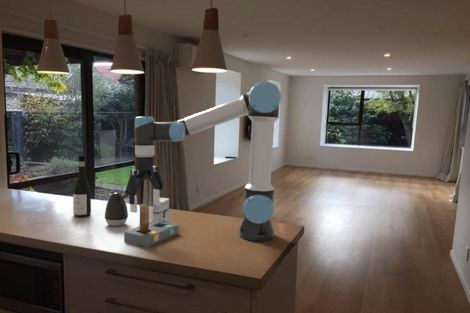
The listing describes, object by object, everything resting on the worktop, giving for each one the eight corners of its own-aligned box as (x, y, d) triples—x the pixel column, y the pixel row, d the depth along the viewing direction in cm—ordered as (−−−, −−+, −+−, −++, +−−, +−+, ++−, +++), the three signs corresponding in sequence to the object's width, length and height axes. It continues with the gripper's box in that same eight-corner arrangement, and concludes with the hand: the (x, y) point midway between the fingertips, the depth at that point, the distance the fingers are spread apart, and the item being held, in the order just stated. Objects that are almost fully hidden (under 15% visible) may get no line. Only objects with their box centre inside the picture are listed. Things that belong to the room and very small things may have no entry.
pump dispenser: (124, 228, 165) (124, 195, 164) (101, 227, 165) (101, 194, 164) (131, 222, 176) (131, 190, 174) (109, 221, 175) (109, 189, 174)
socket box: (178, 233, 161) (178, 223, 160) (147, 247, 143) (148, 236, 143) (156, 228, 166) (156, 219, 166) (124, 241, 149) (124, 231, 148)
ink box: (162, 227, 169) (162, 202, 168) (152, 226, 170) (152, 201, 169) (169, 222, 177) (169, 198, 176) (159, 221, 178) (160, 197, 177)
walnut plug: (150, 238, 151) (151, 204, 149) (144, 240, 148) (144, 206, 146) (143, 236, 153) (144, 203, 151) (137, 239, 149) (137, 205, 148)
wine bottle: (84, 218, 179) (84, 156, 176) (70, 217, 180) (69, 155, 177) (94, 214, 187) (93, 155, 184) (79, 213, 188) (79, 154, 185)
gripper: (157, 152, 159) (158, 201, 162) (114, 158, 137) (115, 214, 139) (171, 153, 156) (172, 203, 158) (129, 159, 134) (130, 216, 136)
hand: (145, 208), depth 149 cm, fingers open, 13 cm apart
